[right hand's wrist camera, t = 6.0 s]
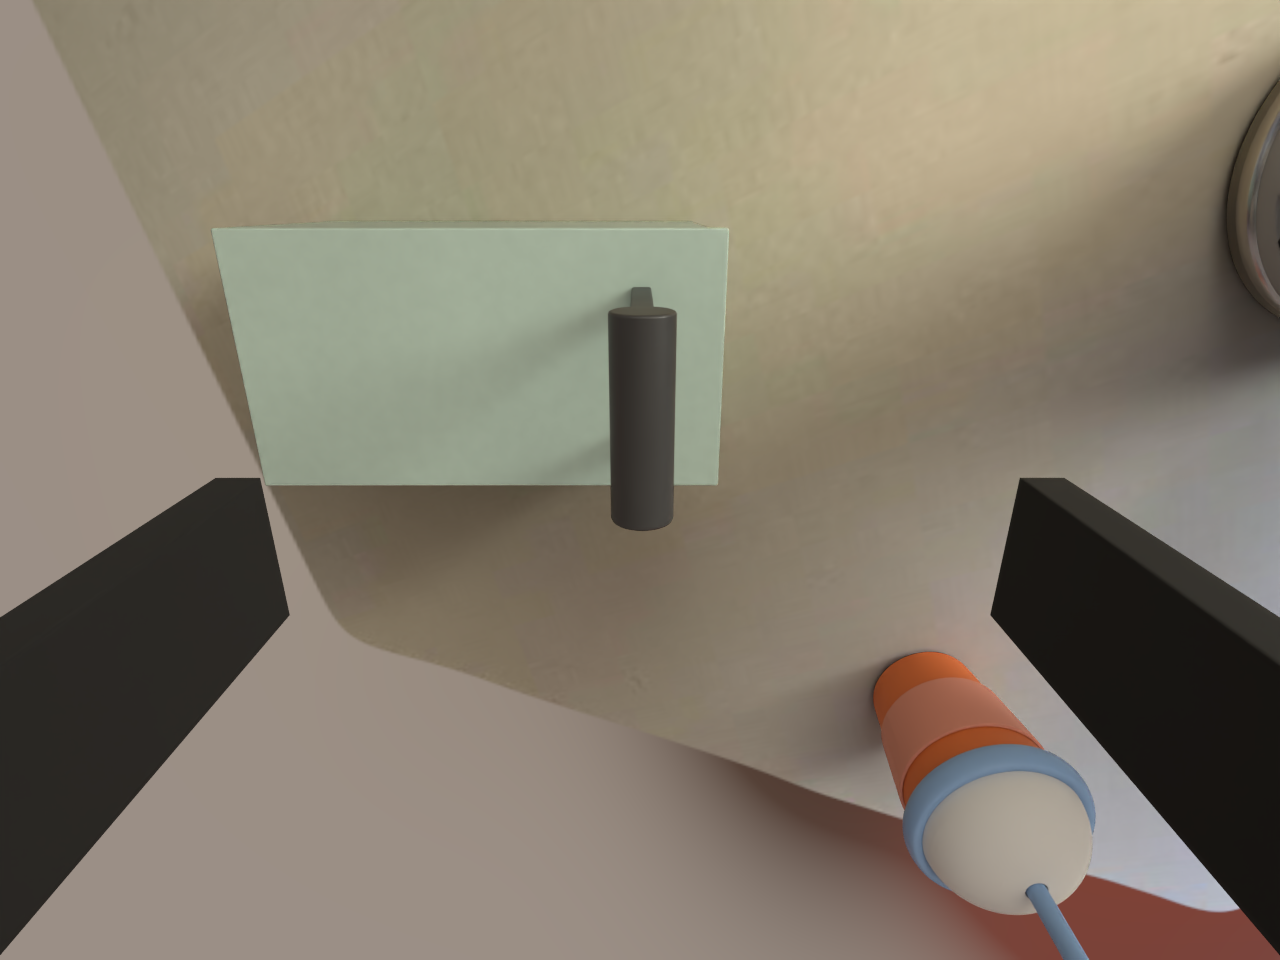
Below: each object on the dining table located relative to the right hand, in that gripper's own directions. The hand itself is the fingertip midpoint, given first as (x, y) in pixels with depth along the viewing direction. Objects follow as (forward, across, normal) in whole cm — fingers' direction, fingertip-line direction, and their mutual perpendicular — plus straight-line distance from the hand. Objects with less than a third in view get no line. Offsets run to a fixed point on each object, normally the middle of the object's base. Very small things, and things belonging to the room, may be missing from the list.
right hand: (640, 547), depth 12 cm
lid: (+15, -6, 0) cm, 16 cm away
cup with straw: (+25, +18, -23) cm, 38 cm away
